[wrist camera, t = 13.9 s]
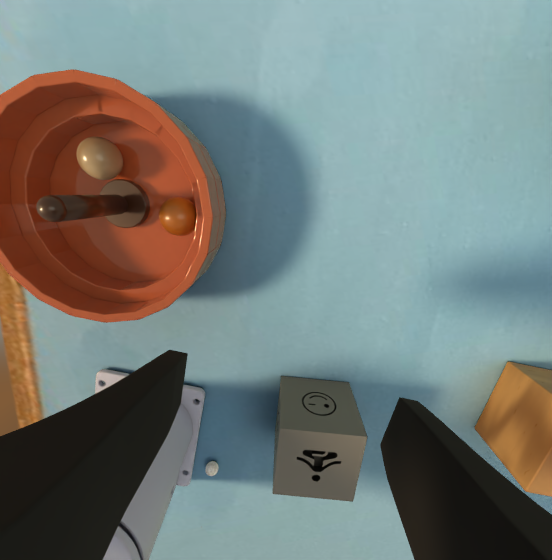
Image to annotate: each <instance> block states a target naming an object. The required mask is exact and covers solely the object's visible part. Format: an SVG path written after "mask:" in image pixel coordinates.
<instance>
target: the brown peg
mask: <svg viewBox="0 0 552 560" xmlns="http://www.w3.org/2000/svg"><path fill="white" fill-rule="evenodd" d="M36 209H37V212H38V214H39V215H40V216H41V217H42V218H43V219H45V220H47V221H50V222H63V221H71V220H79V219H87V218H95V217H103V216H105V218H106V219H107V220H108V221H109V222H111V223H112V224H114V225H115V226H118V227H121V228H131V227H136V226H139V225H140V224H142V223H143V222H144V221H145V220H146V219H147V217H148V215H149V211H150V203H149V199H148V196H147V194H146V192H145V191H144V190H143V189H142V187H141V186H139V185H138V184H136V183H135V182H133V181H130V180H123V179H116V180H112V181H110V182H108V183H107V184H106V185H105V186H104V187H103V188H102V190H101V192H100V195H46V196H43V197H41V198H40V199H39V200H38V202H37V204H36Z"/></svg>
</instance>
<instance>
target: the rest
mask: <svg viewBox="0 0 552 560" xmlns="http://www.w3.org/2000/svg"><path fill="white" fill-rule="evenodd" d="M475 430H476V431H477V432H478V433H479V435H480V436H481V437H482V438H483V440H484V441H485V442H486V443H487V445H488V446H489V447H490V448H491V449H492V451H493V452H494V453H495V454H496V456H497V457H498V458H499V459H500V461H501V462H502V463H503V464H504V466H505V467H506V468H507V469H508V470H509V472H510V473H511V474H512V475H513V477H514V478H515V479H516V480H517V482H518V483H519V484H520V485H521V487H522V488H523V489H524V490H525V491H526V492H530V493H536V494H541V495H546V496H551V497H552V370H548V369H543V368H538V367H533V366H528V365H524V364H519V363H514V362H509V361H508V362H507V364H506V366H505V368H504V370H503V372H502V374H501V376H500V378H499V380H498V382H497V384H496V386H495V388H494V390H493V392H492V394H491V396H490V398H489V400H488V402H487V404H486V406H485V408H484V410H483V412H482V414H481V416H480V418H479V420H478V422H477V424H476V426H475Z"/></svg>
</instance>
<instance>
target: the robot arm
mask: <svg viewBox="0 0 552 560" xmlns="http://www.w3.org/2000/svg"><path fill="white" fill-rule="evenodd" d="M186 361H187V353H182V352H178V351H173V350H168V351H167V352H165V353H163V354H162V355H160V356H158V357H157V358H155V359H154V360H152V361H150V362H149V363H147V364H146V365H144V366H143V367H141V368H139V369H138V370H136V371H134V372H133V373H131V374H127V373H122V372H117V371H112V370H107V369H102V370H100V371H99V372H98V373H97V374H96V389H95V394H94V395H92V396H91V397H89V398H87V399H85V400H83V401H81V402H79V403H77V404H75V405H73V406H71V407H69V408H67V409H65V410H63V411H60V412H58V413H56V414H54V415H51V416H49V417H47V418H45V419H43V420H40V421H38V422H36V423H33V424H31V425H28V426H26V427H23V428H21V429H18V430H16V431H13V432H11V433H8V434H5V435H3V436H0V560H149V557H150V554H151V552H152V549H153V546H154V544H155V541H156V538H157V536H158V533H159V530H160V528H161V525H162V522H163V519H164V517H165V514H166V511H167V509H168V506H169V503H170V501H171V498H172V495H173V493H174V490H175V487H176V485H180V486H188V485H189V484H190V481H191V477H192V471H193V465H194V459H195V453H196V447H197V441H198V435H199V429H200V423H201V417H202V411H203V405H204V399H205V391H204V390H203V389H202V388H199V387H193V386H188V385H183V384H184V376H185V369H186ZM103 381H104V382H105V383H103ZM195 399H198V400H199V401H196V400H195ZM380 445H381V451H382V456H383V461H384V466H385V470H386V475H387V479H388V482H389V485H390V488H391V491H392V494H393V497H394V500H395V503H396V506H397V509H398V512H399V515H400V518H401V521H402V524H403V527H404V530H405V533H406V536H407V539H408V542H409V544H410V547H411V550H412V553H413V556H414V559H415V560H552V515H551V514H550V513H549V512H547V511H546V510H545V509H543V508H542V507H541V506H539V505H538V504H537V503H536V502H534V501H533V500H532V499H531V498H529V497H528V496H527V495H526V494H524V493H523V492H522V491H521V490H519V489H518V488H517V487H516V486H515V485H513V484H512V483H511V482H510V481H509V480H507V479H506V478H505V477H504V476H503V475H501V474H500V473H499V472H498V471H497V470H496V469H494V468H493V467H492V466H491V465H490V464H489V463H487V462H486V461H485V460H484V459H483V458H482V457H481V456H479V455H478V454H477V453H476V452H475V451H474V450H473V449H472V448H470V447H469V446H468V445H467V444H466V443H465V442H464V441H463V440H462V439H460V438H459V437H458V436H457V435H456V434H455V433H454V432H453V431H452V430H450V429H449V428H448V427H447V426H446V425H445V424H444V423H443V422H442V421H440V420H439V419H438V418H437V417H436V416H435V415H434V414H433V413H431V412H430V411H429V410H428V409H427V408H426V407H424V406H423V405H422V404H420V403H419V402H418V401H415V400H410V399H405V398H400V397H399V400H398V402H397V405H396V407H395V410H394V412H393V415H392V417H391V420H390V422H389V424H388V427H387V429H386V432H385V434H384V437H383V439H382V442H381V444H380ZM185 470H186V471H185Z"/></svg>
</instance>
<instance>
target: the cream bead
mask: <svg viewBox="0 0 552 560" xmlns="http://www.w3.org/2000/svg"><path fill="white" fill-rule="evenodd" d="M77 160H78V163H79V165H80V167H81V168H82V169H83V170H84V171H85V172H86V173H87V174H88V175H90V176H91V177H93V178H96V179H100V180H109V179H112V178H115V177H116V176H117V175H119V173H120V172H121V170H122V168H123V157H122V154H121V152H120V150H119V149H118V148H117V146H116V145H115V144H113V143H112V142H111V141H109V140H107V139H105V138H102V137H89V138H86V139H85V140H83V141H82V142H81V143H80V144H79V146H78V148H77Z"/></svg>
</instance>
